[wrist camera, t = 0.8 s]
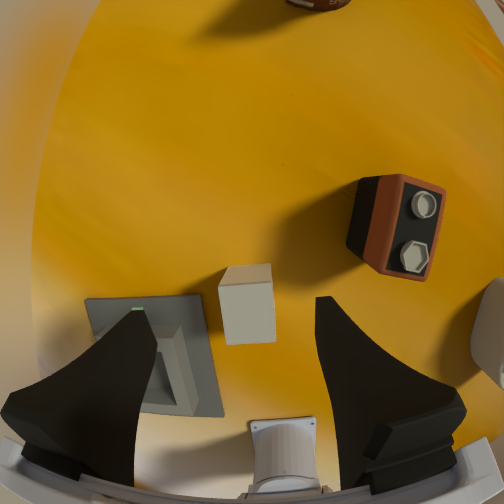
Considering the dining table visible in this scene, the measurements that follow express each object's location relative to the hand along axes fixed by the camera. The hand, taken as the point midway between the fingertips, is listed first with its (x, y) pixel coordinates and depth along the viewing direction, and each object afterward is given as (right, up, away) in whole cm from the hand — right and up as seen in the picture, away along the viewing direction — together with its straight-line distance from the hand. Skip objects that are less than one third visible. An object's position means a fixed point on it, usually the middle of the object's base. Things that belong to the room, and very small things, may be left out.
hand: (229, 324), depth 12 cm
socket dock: (-10, -10, +19) cm, 23 cm away
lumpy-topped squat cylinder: (+34, -7, +16) cm, 38 cm away
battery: (+12, +6, +14) cm, 20 cm away
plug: (+1, -1, +16) cm, 16 cm away
